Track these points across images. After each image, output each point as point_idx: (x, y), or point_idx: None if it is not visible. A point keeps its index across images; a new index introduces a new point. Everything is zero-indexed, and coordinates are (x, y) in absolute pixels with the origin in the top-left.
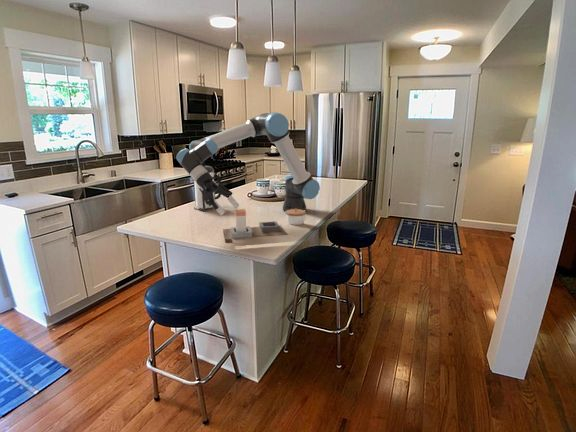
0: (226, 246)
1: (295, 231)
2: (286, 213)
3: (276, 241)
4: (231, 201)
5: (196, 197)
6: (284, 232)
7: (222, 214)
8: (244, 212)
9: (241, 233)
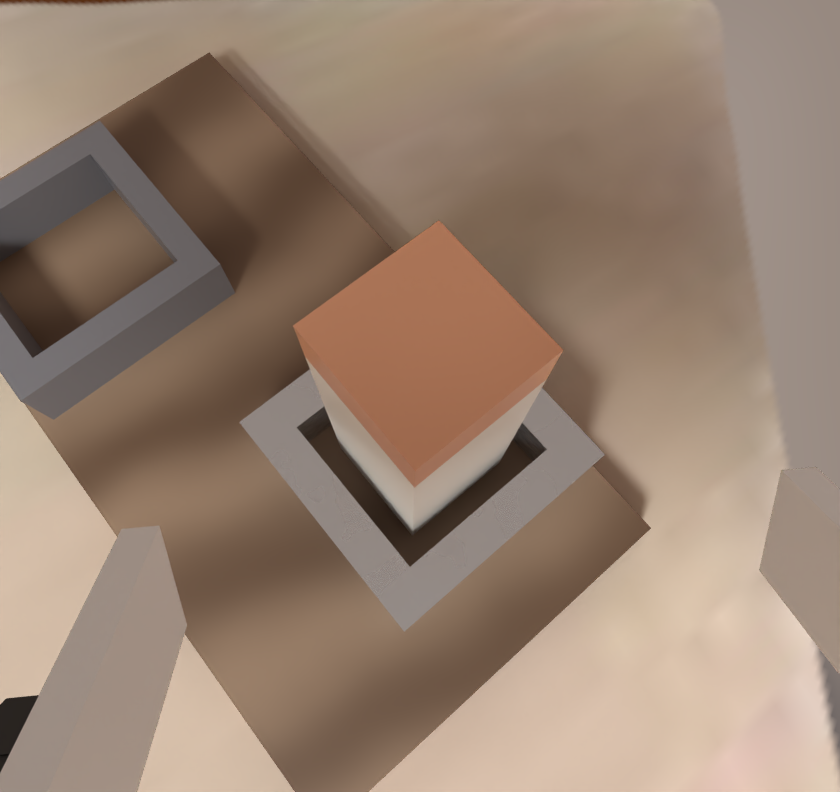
0: (722, 448)
1: (7, 87)
2: None
3: (358, 117)
4: (119, 765)
5: None
6: (155, 102)
7: (768, 547)
8: (453, 244)
9: None
